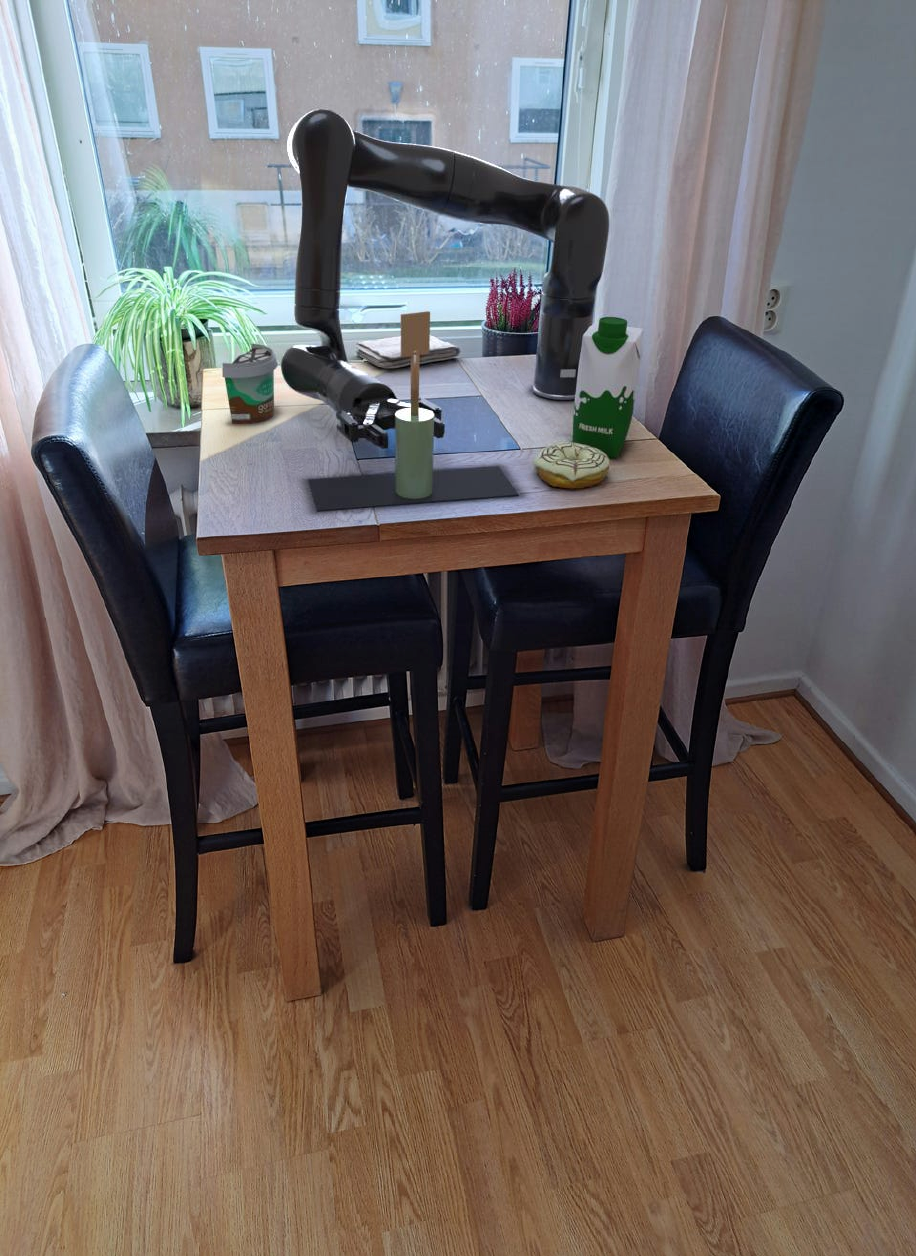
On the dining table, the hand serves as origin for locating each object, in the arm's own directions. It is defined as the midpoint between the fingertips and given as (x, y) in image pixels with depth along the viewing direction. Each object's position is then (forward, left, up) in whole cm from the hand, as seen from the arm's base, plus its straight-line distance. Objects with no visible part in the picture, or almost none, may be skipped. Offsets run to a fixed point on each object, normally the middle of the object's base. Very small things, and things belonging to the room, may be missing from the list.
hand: (414, 436), depth 119 cm
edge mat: (0, -1, -8) cm, 8 cm away
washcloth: (-29, -55, -8) cm, 63 cm away
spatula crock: (0, 0, -8) cm, 8 cm away
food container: (+8, -37, -8) cm, 39 cm away
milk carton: (-34, -1, -8) cm, 35 cm away
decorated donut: (-23, +6, -8) cm, 25 cm away
